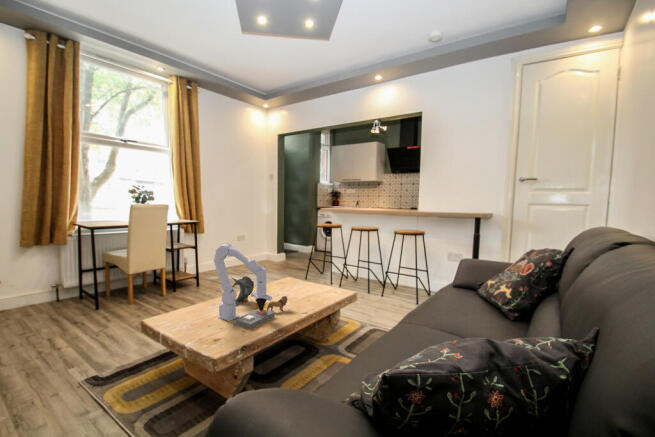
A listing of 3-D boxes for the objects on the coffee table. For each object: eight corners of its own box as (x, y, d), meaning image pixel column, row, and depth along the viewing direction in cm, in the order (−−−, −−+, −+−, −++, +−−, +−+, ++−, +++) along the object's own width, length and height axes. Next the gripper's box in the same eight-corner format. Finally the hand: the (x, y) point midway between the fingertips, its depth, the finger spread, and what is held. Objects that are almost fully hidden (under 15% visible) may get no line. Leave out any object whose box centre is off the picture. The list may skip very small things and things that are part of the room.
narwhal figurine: (255, 304, 202) (255, 278, 200) (231, 307, 196) (231, 280, 195) (252, 297, 215) (252, 273, 213) (229, 300, 209) (229, 274, 208)
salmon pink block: (256, 316, 180) (256, 310, 180) (261, 314, 184) (261, 308, 183) (261, 318, 178) (261, 311, 178) (266, 316, 182) (266, 309, 181)
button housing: (235, 324, 171) (234, 319, 171) (259, 312, 188) (259, 308, 188) (250, 329, 165) (250, 324, 165) (274, 317, 182) (274, 312, 182)
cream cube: (244, 324, 172) (244, 317, 171) (249, 321, 175) (249, 314, 175) (249, 325, 170) (249, 318, 169) (254, 323, 173) (254, 316, 173)
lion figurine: (285, 307, 198) (285, 294, 197) (288, 310, 193) (289, 296, 193) (263, 311, 190) (264, 297, 190) (266, 314, 186) (266, 300, 185)
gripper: (247, 287, 180) (247, 309, 181) (266, 291, 173) (266, 314, 174) (255, 284, 186) (255, 306, 187) (274, 288, 179) (274, 310, 180)
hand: (261, 310), depth 181 cm, fingers closed, pressing on salmon pink block
